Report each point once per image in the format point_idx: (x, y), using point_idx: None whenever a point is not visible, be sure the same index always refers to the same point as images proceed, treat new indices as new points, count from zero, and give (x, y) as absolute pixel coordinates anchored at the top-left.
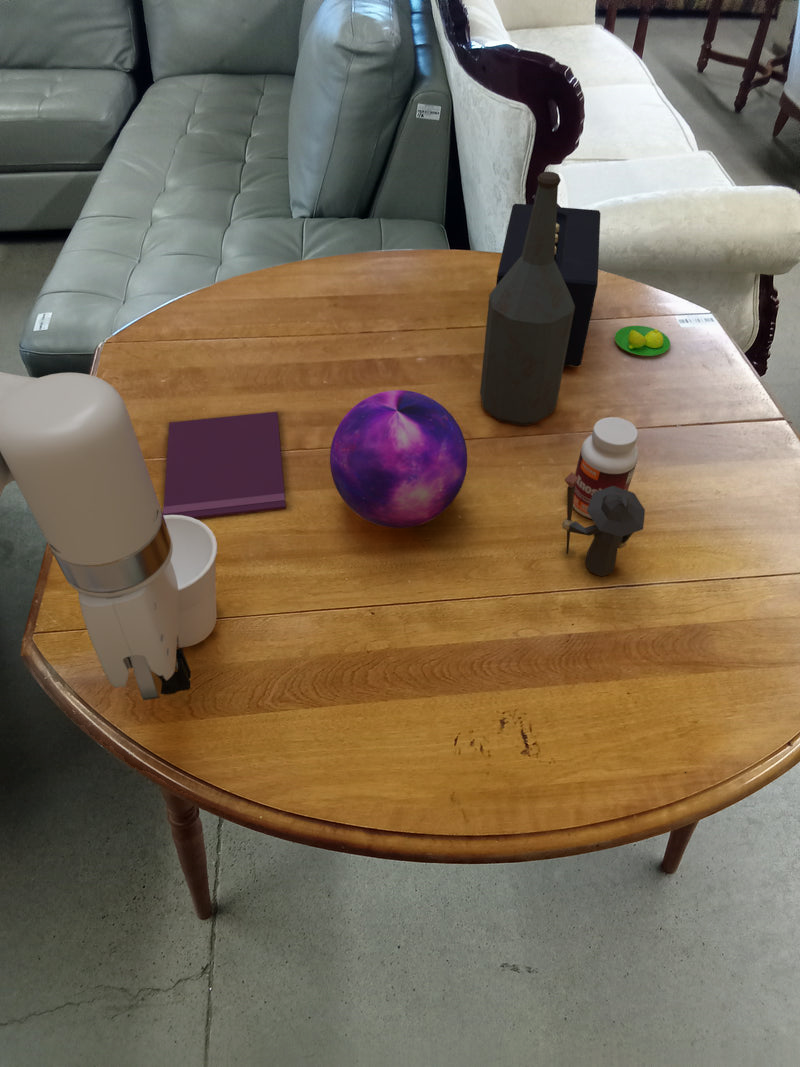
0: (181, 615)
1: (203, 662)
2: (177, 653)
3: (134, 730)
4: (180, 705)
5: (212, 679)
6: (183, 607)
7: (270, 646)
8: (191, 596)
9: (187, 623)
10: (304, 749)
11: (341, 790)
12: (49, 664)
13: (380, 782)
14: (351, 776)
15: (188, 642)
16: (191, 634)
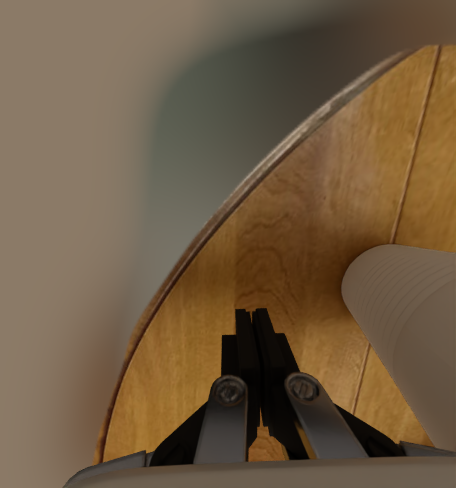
0: (385, 357)
1: (313, 303)
2: (270, 429)
3: (230, 229)
4: (257, 281)
5: (286, 314)
6: (401, 386)
7: (317, 370)
8: (424, 429)
9: (369, 336)
10: (185, 397)
11: (141, 423)
12: (366, 86)
13: (147, 450)
14: (154, 431)
15: (345, 296)
16: (353, 312)
